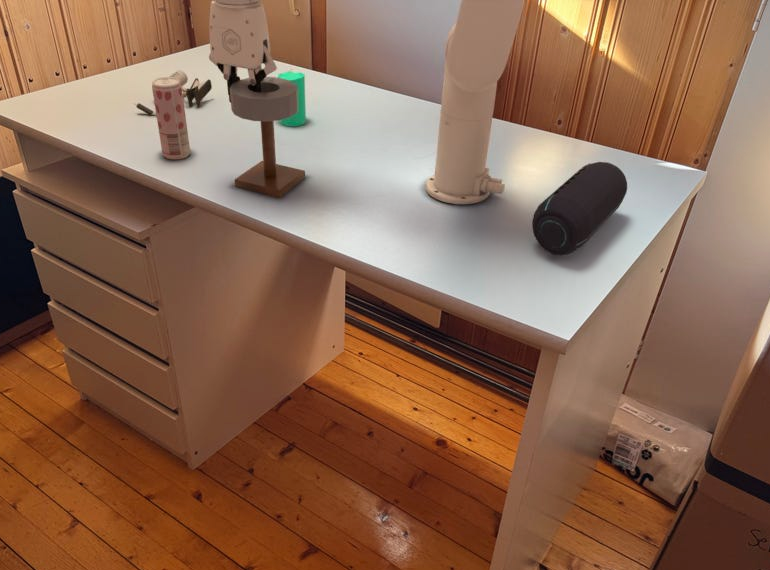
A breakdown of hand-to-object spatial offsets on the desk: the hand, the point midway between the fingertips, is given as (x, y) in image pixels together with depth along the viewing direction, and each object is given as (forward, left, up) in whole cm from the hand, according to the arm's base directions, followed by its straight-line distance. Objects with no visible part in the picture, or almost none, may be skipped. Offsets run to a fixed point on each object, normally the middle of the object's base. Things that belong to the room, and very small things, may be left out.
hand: (245, 101), depth 132 cm
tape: (-4, 0, -1) cm, 4 cm away
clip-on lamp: (+37, -25, -15) cm, 48 cm away
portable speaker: (-63, -8, -15) cm, 65 cm away
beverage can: (+20, -2, -15) cm, 25 cm away
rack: (-4, 0, -15) cm, 16 cm away
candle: (+8, -30, -15) cm, 34 cm away
